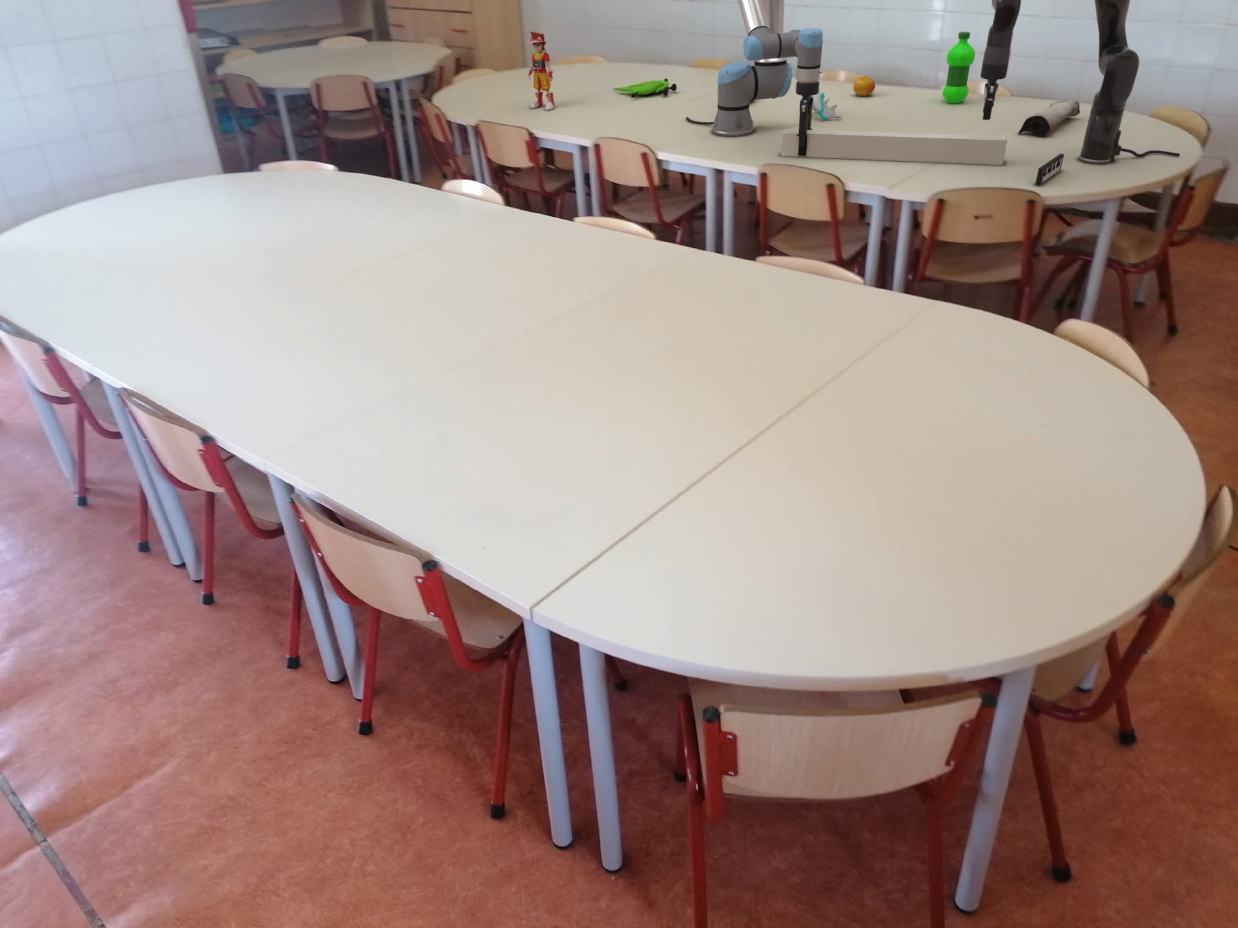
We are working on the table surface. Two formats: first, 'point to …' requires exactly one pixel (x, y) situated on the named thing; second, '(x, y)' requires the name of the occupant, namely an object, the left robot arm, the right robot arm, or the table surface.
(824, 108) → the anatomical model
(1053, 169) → the midi keyboard
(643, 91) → the toy
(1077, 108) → the rolled mat
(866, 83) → the fruit
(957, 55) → the plastic bottle
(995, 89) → the right robot arm
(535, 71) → the toy
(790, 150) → the bar
